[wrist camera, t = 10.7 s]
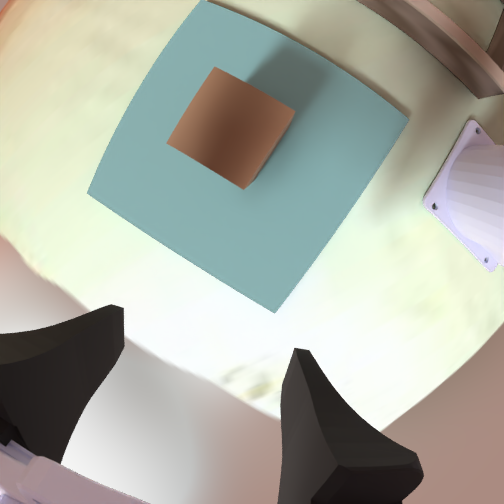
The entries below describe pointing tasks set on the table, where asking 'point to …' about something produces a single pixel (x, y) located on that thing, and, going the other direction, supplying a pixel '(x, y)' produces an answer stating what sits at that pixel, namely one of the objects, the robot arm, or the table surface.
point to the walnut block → (231, 127)
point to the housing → (449, 43)
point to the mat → (273, 172)
